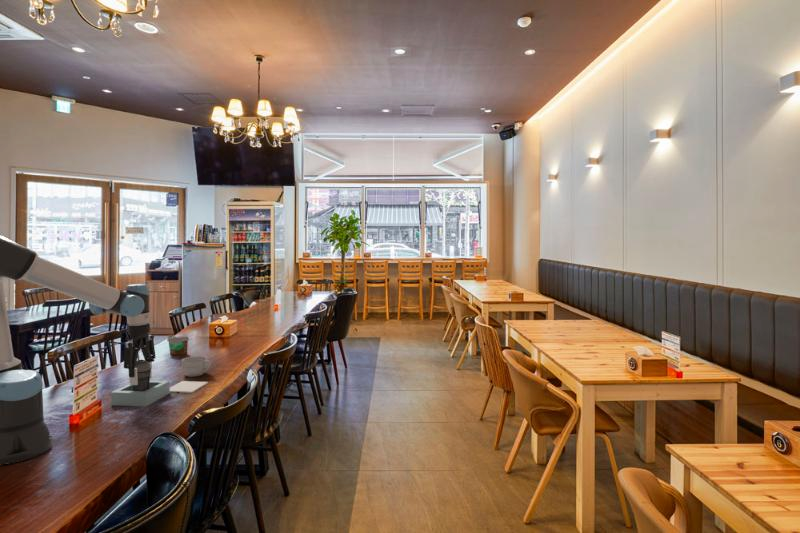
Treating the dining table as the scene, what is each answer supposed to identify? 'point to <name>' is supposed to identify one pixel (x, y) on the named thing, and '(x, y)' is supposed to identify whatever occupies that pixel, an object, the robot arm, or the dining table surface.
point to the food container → (178, 345)
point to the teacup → (195, 365)
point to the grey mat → (187, 386)
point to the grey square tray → (140, 394)
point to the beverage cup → (142, 375)
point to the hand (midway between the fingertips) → (141, 381)
